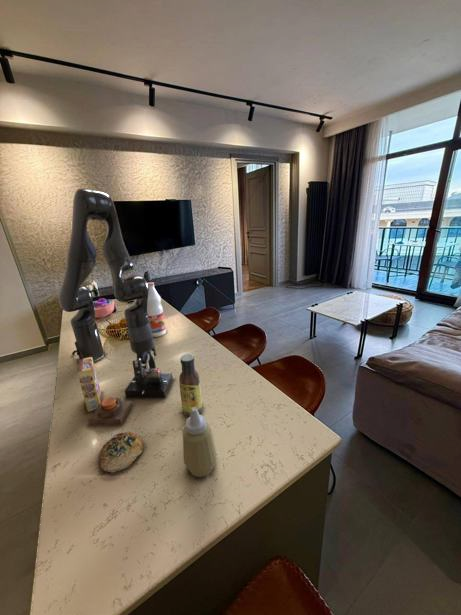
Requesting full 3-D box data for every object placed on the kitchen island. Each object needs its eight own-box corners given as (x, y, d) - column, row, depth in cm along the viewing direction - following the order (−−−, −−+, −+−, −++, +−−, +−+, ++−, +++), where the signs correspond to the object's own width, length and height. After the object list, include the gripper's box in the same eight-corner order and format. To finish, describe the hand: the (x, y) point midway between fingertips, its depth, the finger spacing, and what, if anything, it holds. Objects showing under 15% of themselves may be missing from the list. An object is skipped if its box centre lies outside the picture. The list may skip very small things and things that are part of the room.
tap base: (124, 401, 88) (122, 393, 87) (139, 377, 100) (137, 370, 99) (163, 401, 87) (162, 393, 85) (174, 377, 99) (173, 370, 98)
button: (100, 410, 79) (99, 406, 78) (106, 401, 82) (105, 397, 82) (112, 410, 78) (111, 406, 78) (118, 401, 82) (117, 397, 82)
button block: (90, 424, 78) (87, 414, 77) (103, 406, 86) (101, 396, 84) (121, 424, 78) (118, 414, 76) (132, 406, 85) (130, 396, 84)
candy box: (102, 408, 85) (91, 369, 80) (87, 412, 83) (75, 373, 78) (102, 392, 93) (92, 356, 87) (88, 396, 91) (77, 359, 86)
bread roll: (113, 435, 74) (111, 422, 72) (150, 440, 73) (149, 428, 71) (89, 472, 64) (86, 459, 62) (132, 480, 63) (130, 466, 61)
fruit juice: (166, 328, 142) (159, 280, 132) (165, 336, 134) (157, 284, 124) (149, 330, 141) (140, 281, 131) (147, 338, 132) (137, 286, 122)
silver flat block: (136, 383, 92) (133, 371, 90) (138, 380, 93) (135, 367, 92) (160, 383, 91) (158, 370, 89) (162, 379, 93) (160, 367, 91)
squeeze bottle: (186, 453, 67) (177, 398, 61) (217, 450, 67) (211, 395, 61) (183, 484, 59) (173, 424, 53) (218, 480, 60) (212, 420, 54)
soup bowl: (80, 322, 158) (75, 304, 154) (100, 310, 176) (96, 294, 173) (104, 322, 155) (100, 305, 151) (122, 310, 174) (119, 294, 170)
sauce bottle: (179, 415, 80) (170, 360, 73) (189, 401, 86) (182, 350, 79) (197, 420, 78) (190, 364, 71) (206, 406, 83) (200, 353, 76)
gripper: (138, 327, 93) (146, 365, 98) (120, 346, 79) (130, 389, 85) (158, 326, 92) (165, 364, 98) (143, 345, 79) (152, 389, 85)
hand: (149, 376), depth 91 cm, fingers open, 8 cm apart
